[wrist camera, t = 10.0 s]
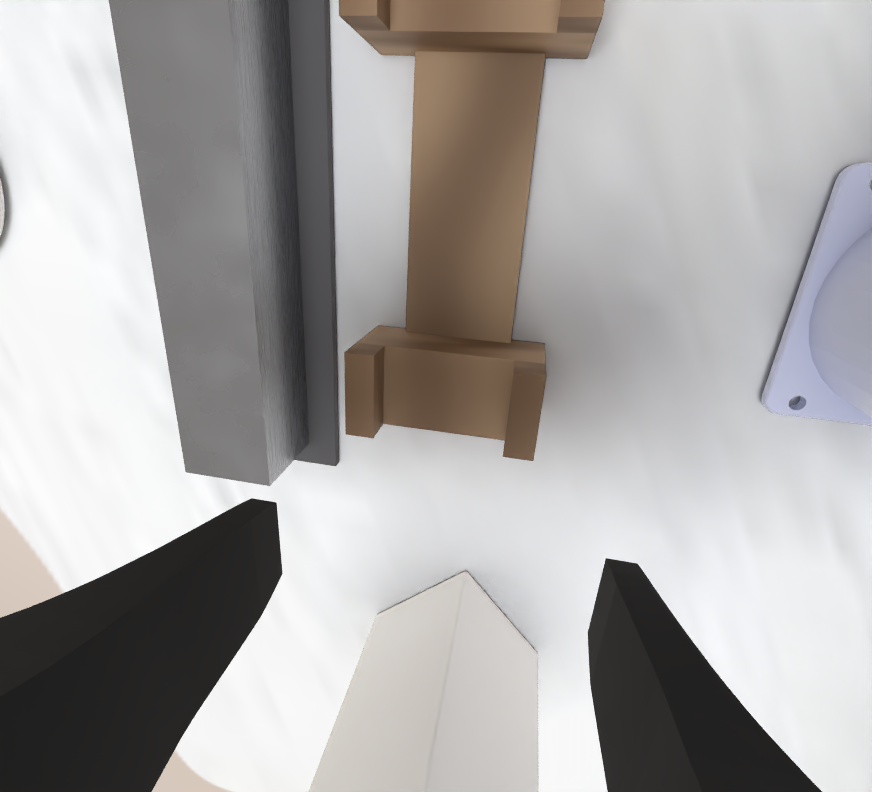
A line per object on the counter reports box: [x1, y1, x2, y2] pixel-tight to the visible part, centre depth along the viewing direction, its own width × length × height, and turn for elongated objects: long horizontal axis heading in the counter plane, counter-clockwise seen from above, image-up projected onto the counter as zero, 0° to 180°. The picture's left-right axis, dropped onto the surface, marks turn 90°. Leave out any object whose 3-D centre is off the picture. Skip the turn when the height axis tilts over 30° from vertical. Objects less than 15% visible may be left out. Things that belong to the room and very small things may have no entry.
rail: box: [109, 0, 309, 486], centre depth 16 cm, size 4×20×4 cm, turn 177°
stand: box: [339, 0, 605, 461], centre depth 15 cm, size 6×16×4 cm, turn 177°
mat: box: [288, 0, 339, 466], centre depth 18 cm, size 6×22×1 cm, turn 177°
